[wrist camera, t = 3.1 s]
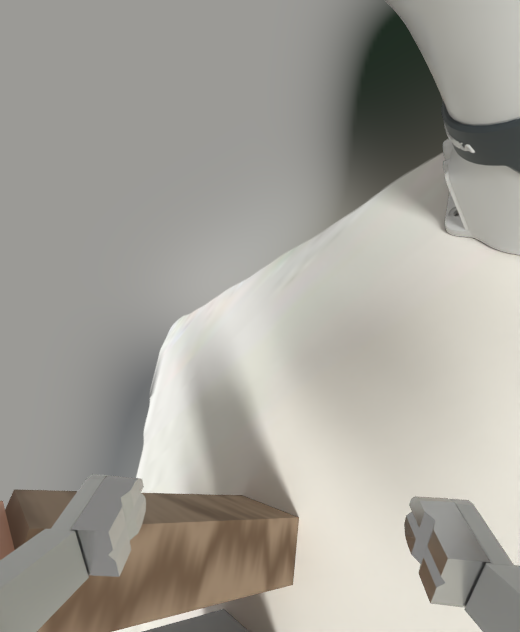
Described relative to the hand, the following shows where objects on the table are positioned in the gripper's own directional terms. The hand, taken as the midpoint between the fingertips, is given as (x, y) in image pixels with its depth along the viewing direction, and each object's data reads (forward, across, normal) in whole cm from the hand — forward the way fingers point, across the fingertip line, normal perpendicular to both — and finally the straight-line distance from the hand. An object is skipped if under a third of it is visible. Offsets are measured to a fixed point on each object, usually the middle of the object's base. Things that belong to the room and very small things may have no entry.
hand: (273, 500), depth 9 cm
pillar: (+17, 0, +29) cm, 34 cm away
